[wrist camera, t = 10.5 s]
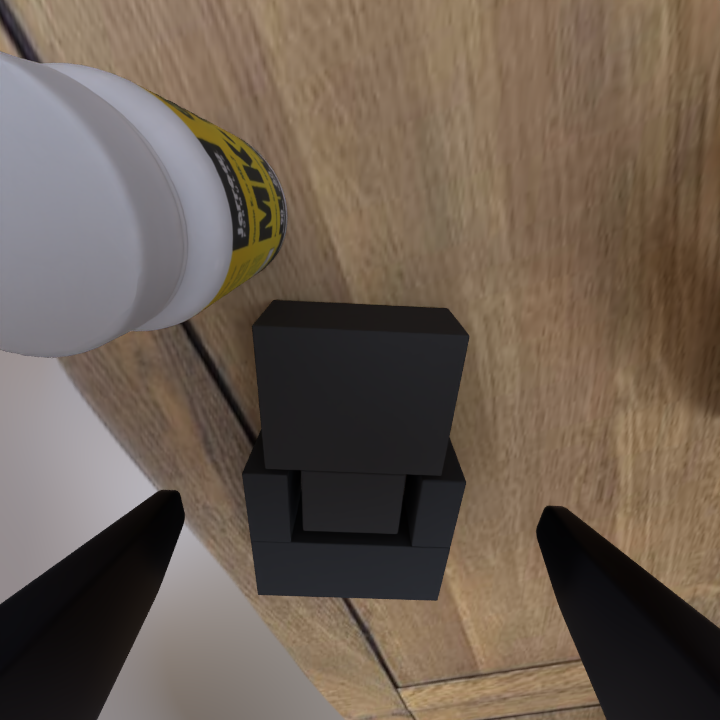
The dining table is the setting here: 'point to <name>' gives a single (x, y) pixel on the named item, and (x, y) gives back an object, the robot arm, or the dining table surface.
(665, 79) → the dining table surface
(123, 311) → the supplement bottle
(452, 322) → the pad piece
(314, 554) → the base pad
